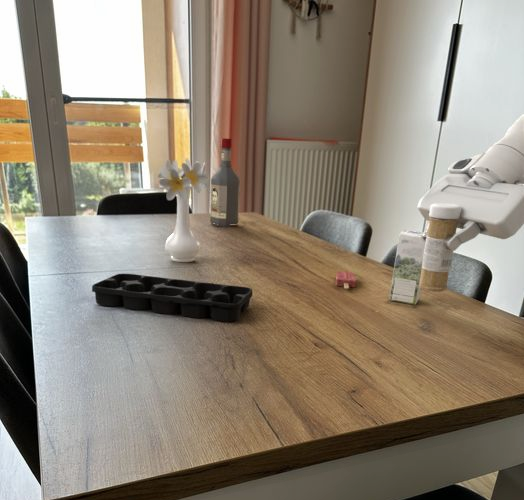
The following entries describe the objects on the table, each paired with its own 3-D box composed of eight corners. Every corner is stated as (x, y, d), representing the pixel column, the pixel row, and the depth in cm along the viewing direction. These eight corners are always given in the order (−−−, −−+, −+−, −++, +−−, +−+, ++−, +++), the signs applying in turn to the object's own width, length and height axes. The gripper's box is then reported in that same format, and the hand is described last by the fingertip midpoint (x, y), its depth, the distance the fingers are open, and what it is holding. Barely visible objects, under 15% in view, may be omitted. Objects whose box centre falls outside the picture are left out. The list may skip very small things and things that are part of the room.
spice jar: (436, 284, 87) (450, 202, 82) (452, 292, 83) (468, 206, 78) (412, 285, 86) (425, 202, 81) (427, 293, 82) (441, 206, 77)
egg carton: (109, 288, 107) (108, 271, 106) (253, 297, 107) (253, 279, 106) (80, 315, 91) (78, 294, 89) (249, 325, 91) (250, 304, 89)
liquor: (226, 222, 199) (229, 138, 188) (241, 225, 193) (244, 139, 181) (207, 223, 194) (208, 137, 182) (221, 227, 187) (223, 138, 176)
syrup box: (419, 299, 113) (431, 232, 107) (415, 305, 108) (427, 236, 102) (393, 294, 115) (404, 229, 109) (388, 301, 110) (398, 232, 104)
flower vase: (157, 268, 125) (154, 159, 116) (161, 252, 142) (159, 156, 133) (210, 269, 127) (212, 162, 118) (208, 253, 144) (210, 158, 135)
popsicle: (337, 283, 114) (335, 269, 128) (336, 291, 114) (335, 276, 128) (357, 285, 113) (354, 271, 127) (356, 293, 114) (353, 278, 128)
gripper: (560, 202, 73) (491, 272, 74) (463, 188, 91) (409, 245, 92) (544, 168, 70) (472, 242, 71) (447, 161, 88) (390, 220, 89)
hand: (436, 243), depth 81 cm, fingers closed on spice jar, 4 cm apart
